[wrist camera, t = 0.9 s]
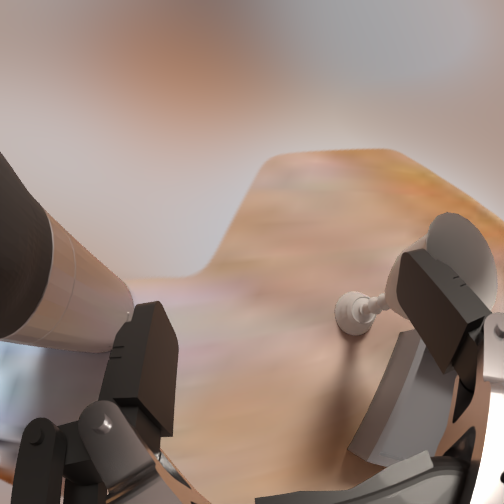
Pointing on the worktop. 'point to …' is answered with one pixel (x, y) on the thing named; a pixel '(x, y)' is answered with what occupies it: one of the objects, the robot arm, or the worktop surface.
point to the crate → (406, 406)
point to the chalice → (440, 247)
